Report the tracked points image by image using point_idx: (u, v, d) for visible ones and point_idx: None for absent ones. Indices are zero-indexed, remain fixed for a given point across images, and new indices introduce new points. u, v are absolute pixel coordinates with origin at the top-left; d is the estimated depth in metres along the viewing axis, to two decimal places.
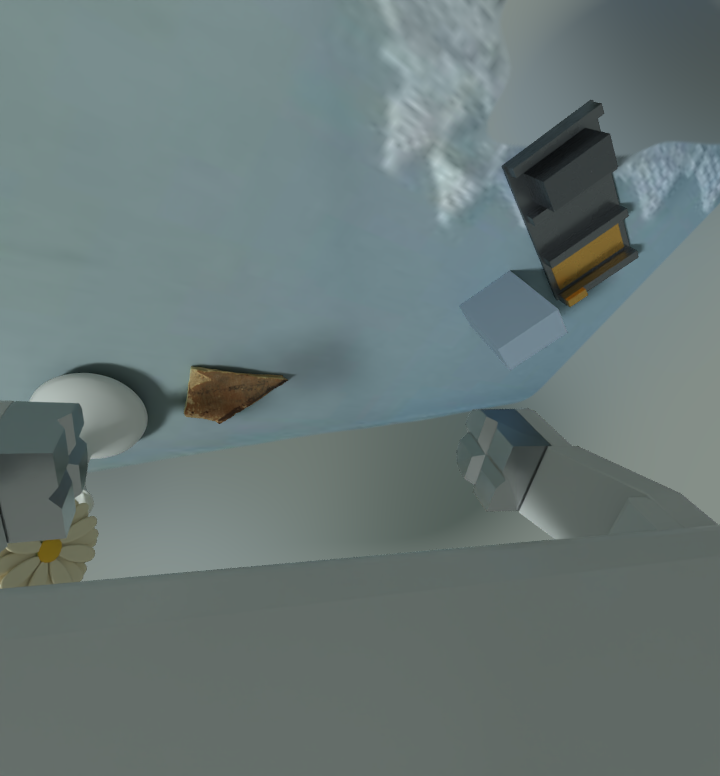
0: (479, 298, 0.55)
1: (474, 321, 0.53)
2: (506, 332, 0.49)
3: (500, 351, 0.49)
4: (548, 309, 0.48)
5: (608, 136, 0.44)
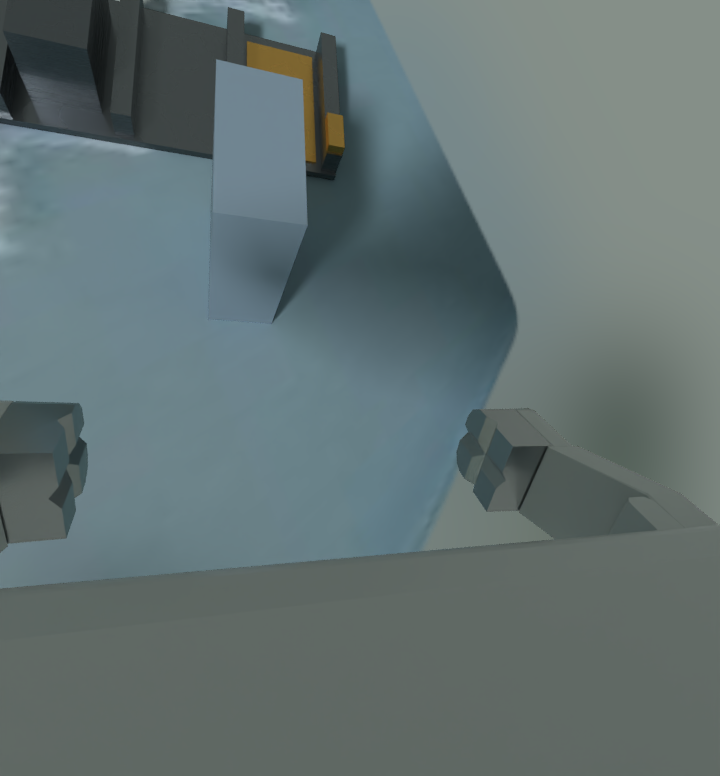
0: None
1: (209, 283, 0.23)
2: None
3: (225, 211, 0.17)
4: None
5: None
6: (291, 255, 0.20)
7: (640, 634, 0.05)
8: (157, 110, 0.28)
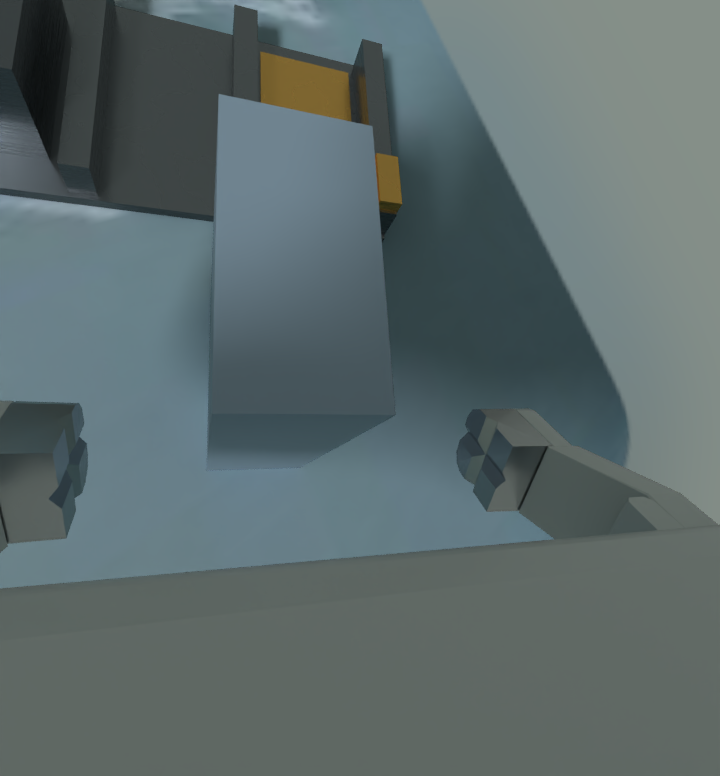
0: None
1: None
2: (212, 346, 0.10)
3: (238, 407, 0.09)
4: None
5: None
6: (351, 434, 0.11)
7: (640, 634, 0.05)
8: (133, 153, 0.19)
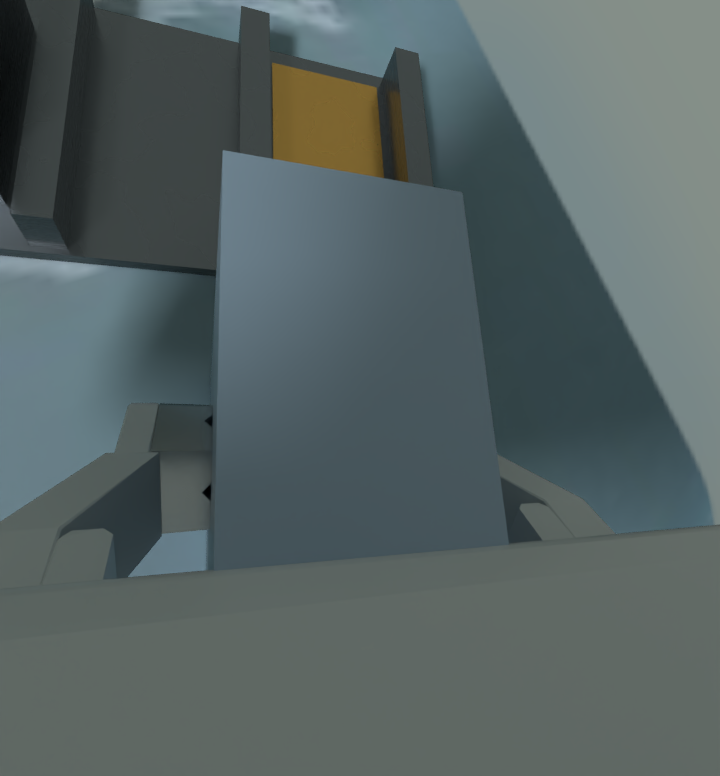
0: None
1: None
2: None
3: None
4: None
5: None
6: None
7: (640, 634, 0.05)
8: (114, 192, 0.15)
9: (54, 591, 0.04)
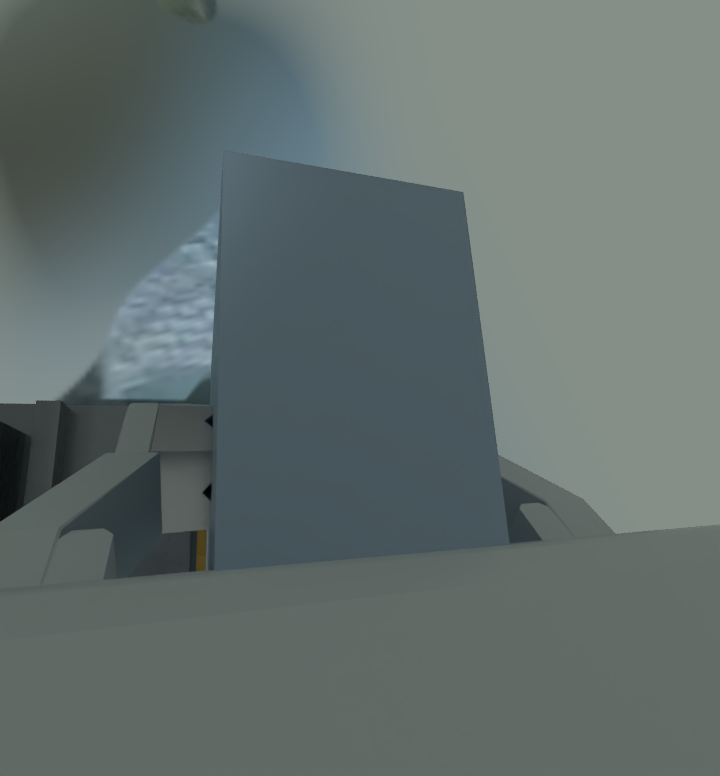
0: None
1: None
2: None
3: None
4: (220, 228, 0.07)
5: None
6: None
7: (640, 634, 0.05)
8: None
9: (54, 591, 0.04)
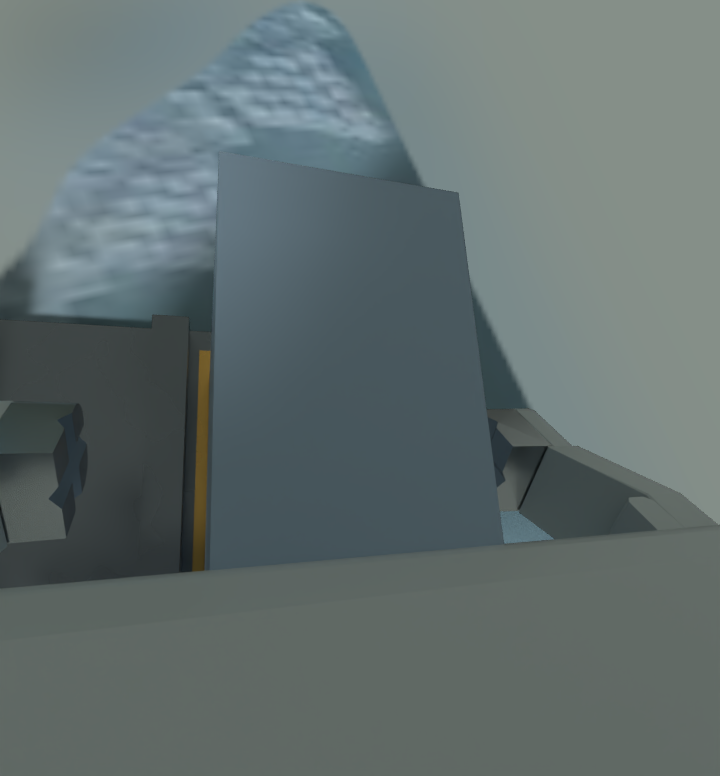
0: None
1: None
2: None
3: None
4: (216, 228, 0.07)
5: None
6: None
7: (640, 634, 0.05)
8: None
9: (54, 591, 0.04)
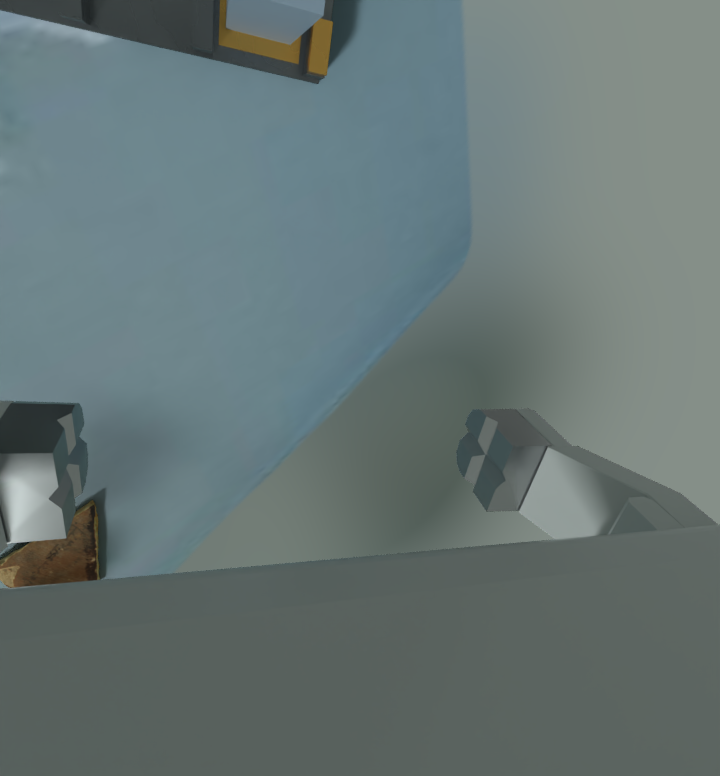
0: None
1: None
2: None
3: None
4: None
5: None
6: (308, 23, 0.20)
7: (640, 634, 0.05)
8: None
9: (54, 591, 0.04)
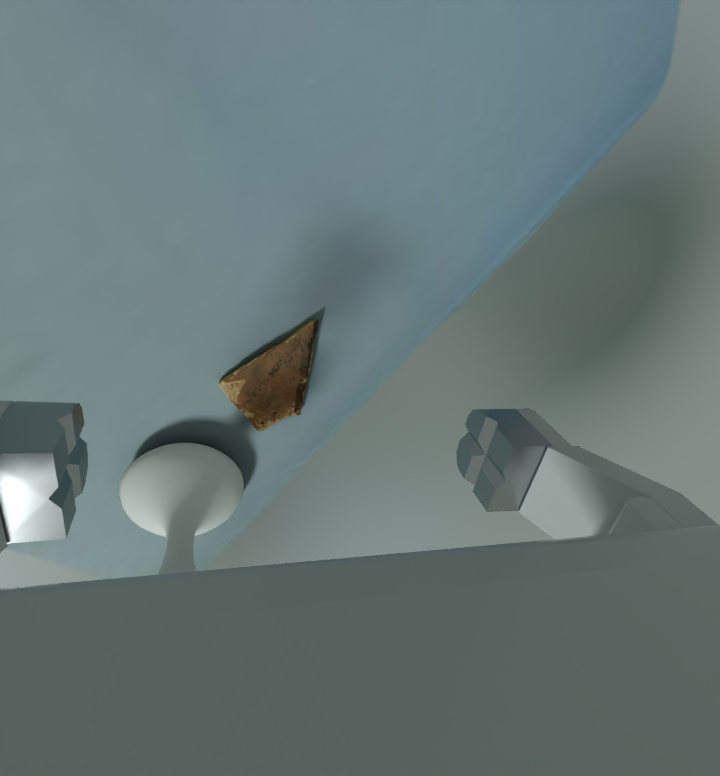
0: None
1: None
2: None
3: None
4: None
5: None
6: None
7: (640, 634, 0.05)
8: None
9: (54, 591, 0.04)
